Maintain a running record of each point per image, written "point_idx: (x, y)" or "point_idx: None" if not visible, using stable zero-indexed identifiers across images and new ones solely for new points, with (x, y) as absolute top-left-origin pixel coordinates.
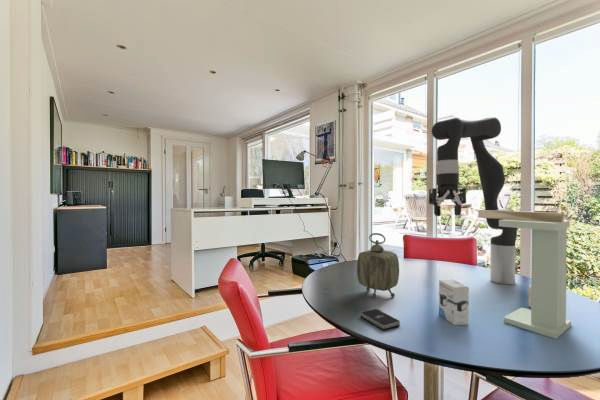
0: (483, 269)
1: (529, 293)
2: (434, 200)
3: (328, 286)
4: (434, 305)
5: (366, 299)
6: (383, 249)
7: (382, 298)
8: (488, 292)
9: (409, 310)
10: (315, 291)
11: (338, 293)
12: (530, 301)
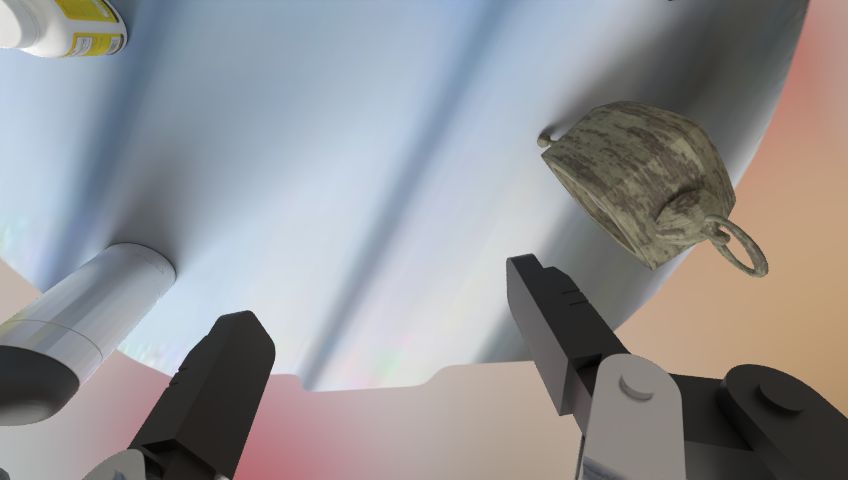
0: (164, 361)
1: (88, 30)
2: (844, 460)
3: None
4: (452, 65)
5: None
6: (671, 207)
7: None
8: (224, 177)
9: (552, 22)
10: None
11: None
12: (109, 23)
